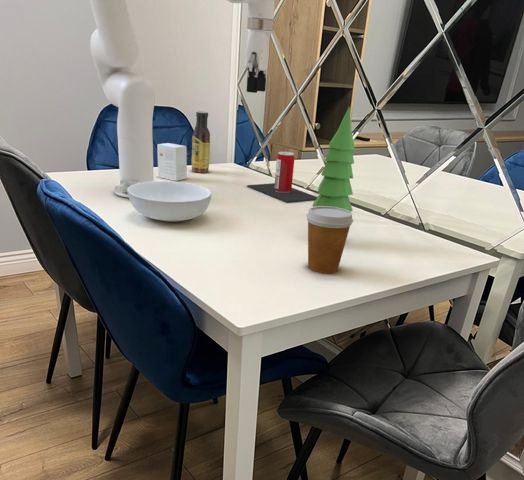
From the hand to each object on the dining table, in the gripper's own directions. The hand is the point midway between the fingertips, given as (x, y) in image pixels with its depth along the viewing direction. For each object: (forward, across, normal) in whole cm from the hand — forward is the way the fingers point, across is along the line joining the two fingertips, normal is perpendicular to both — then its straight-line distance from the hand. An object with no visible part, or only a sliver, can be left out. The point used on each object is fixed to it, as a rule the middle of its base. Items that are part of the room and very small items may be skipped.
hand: (256, 91), depth 164 cm
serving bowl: (+28, +48, -8) cm, 56 cm away
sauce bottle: (+28, -12, -22) cm, 38 cm away
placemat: (+28, +4, +12) cm, 31 cm away
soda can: (+28, +4, +12) cm, 31 cm away
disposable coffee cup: (+28, +68, +35) cm, 82 cm away
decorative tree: (+28, +48, +33) cm, 65 cm away
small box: (+28, +4, -26) cm, 39 cm away
